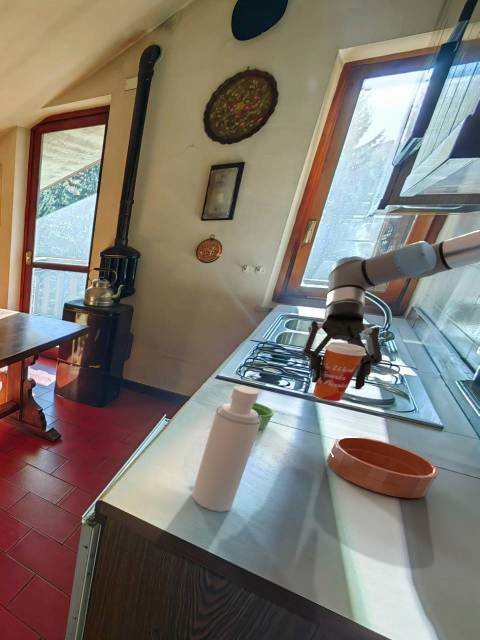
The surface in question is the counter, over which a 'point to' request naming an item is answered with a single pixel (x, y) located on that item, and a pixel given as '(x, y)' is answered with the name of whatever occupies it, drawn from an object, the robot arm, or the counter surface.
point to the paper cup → (337, 370)
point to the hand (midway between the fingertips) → (337, 383)
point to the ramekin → (263, 414)
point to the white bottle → (227, 451)
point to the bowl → (382, 467)
